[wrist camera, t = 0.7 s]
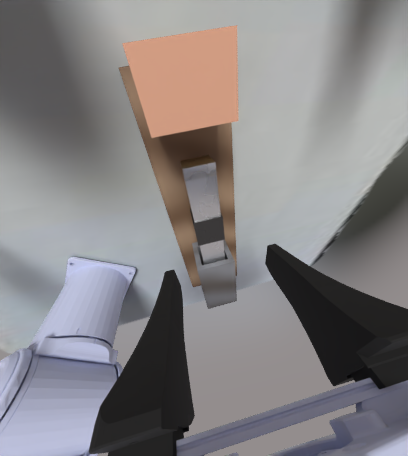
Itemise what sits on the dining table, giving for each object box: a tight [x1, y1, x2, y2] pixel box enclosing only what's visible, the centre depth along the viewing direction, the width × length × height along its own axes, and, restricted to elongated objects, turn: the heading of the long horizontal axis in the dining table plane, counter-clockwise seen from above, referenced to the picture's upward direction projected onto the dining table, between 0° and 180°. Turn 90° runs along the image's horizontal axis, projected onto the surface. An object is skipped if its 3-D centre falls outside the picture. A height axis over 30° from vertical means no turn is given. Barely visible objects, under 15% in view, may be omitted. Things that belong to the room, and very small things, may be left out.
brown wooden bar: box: [119, 66, 237, 308], centre depth 18 cm, size 28×8×5 cm, turn 9°
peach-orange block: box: [123, 25, 238, 138], centre depth 11 cm, size 4×5×5 cm
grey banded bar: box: [180, 155, 225, 265], centre depth 19 cm, size 19×3×3 cm, turn 9°
